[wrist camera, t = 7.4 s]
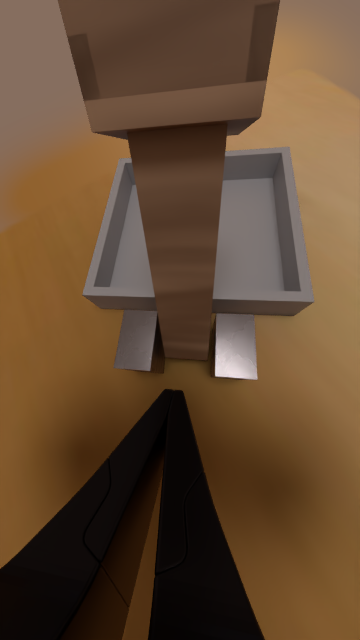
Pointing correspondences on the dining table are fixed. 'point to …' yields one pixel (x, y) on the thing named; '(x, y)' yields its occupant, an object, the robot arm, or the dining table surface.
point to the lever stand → (227, 345)
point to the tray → (232, 248)
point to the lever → (175, 127)
